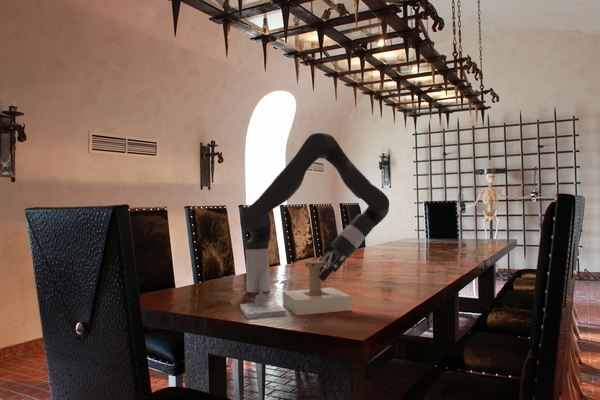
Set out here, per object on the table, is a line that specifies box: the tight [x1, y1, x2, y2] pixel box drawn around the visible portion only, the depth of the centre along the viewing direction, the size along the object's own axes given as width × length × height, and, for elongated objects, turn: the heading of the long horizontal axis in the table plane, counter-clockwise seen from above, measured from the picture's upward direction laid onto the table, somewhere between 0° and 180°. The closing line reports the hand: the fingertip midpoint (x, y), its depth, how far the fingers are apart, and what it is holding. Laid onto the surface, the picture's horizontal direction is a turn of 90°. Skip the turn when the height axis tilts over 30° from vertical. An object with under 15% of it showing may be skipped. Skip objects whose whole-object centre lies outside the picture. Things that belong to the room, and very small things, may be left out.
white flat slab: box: [239, 300, 287, 320], centre depth 154 cm, size 16×12×2 cm
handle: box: [304, 260, 324, 296], centre depth 159 cm, size 5×6×15 cm
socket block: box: [282, 287, 352, 316], centre depth 159 cm, size 18×18×4 cm
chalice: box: [249, 249, 270, 303], centre depth 172 cm, size 7×7×18 cm
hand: (317, 277), depth 159 cm, fingers open, 8 cm apart
